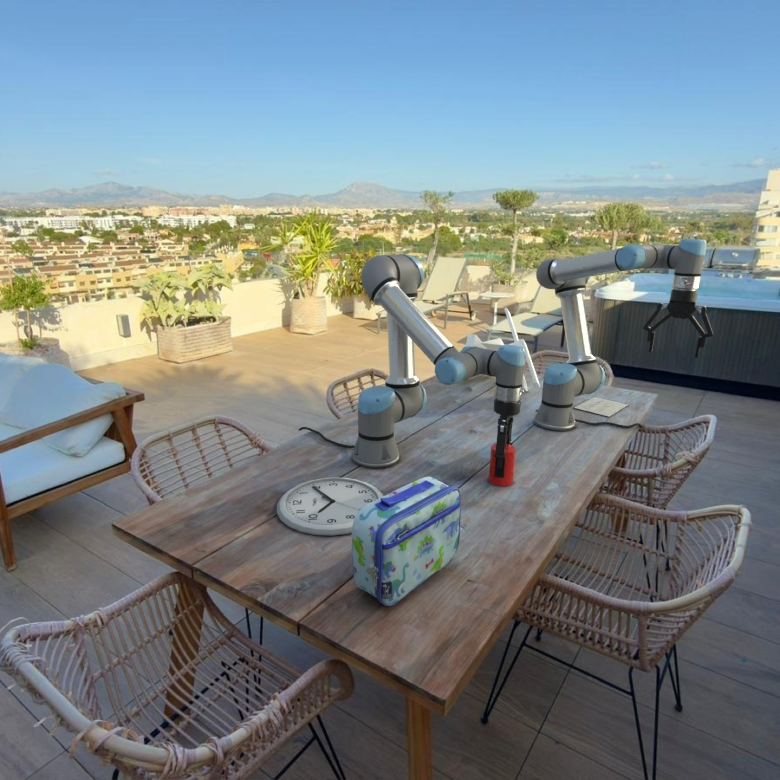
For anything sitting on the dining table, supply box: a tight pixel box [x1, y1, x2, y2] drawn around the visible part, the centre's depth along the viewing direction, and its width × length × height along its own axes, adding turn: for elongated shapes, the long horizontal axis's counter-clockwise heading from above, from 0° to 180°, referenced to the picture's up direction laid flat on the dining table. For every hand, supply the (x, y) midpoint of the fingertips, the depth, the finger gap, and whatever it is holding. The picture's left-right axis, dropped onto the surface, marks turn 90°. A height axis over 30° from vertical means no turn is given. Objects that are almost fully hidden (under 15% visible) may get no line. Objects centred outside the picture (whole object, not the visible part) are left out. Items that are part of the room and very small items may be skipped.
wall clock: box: [276, 476, 385, 537], centre depth 142 cm, size 30×2×30 cm
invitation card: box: [573, 396, 629, 418], centre depth 226 cm, size 21×1×15 cm
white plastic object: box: [464, 307, 541, 392], centre depth 256 cm, size 37×45×31 cm
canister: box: [488, 443, 517, 487], centre depth 157 cm, size 7×7×11 cm
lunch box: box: [351, 476, 462, 607], centre depth 111 cm, size 26×11×21 cm, turn 135°
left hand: (501, 471), depth 157 cm, fingers closed on canister, 7 cm apart
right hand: (673, 354), depth 173 cm, fingers open, 13 cm apart
